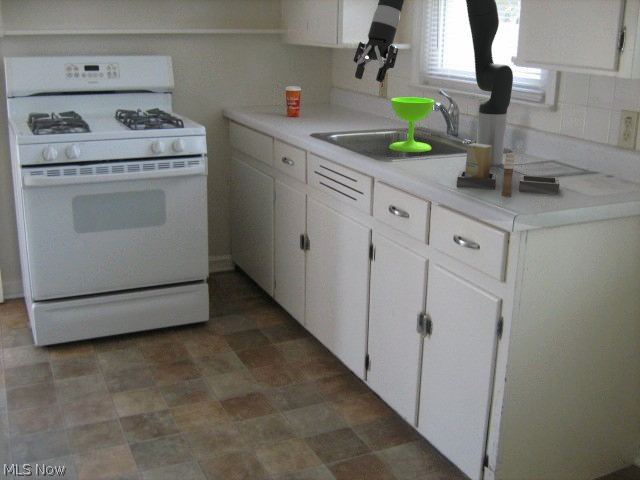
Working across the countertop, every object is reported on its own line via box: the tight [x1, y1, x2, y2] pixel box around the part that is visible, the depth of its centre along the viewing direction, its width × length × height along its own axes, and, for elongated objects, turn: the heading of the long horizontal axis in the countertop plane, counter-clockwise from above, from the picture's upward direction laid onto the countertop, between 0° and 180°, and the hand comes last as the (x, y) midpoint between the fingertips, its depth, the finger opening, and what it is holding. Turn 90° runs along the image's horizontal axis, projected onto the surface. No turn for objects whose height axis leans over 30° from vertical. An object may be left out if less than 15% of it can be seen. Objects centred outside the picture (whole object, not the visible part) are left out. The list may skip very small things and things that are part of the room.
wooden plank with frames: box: [456, 152, 560, 198], centre depth 219 cm, size 24×29×8 cm
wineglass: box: [388, 97, 435, 153], centre depth 277 cm, size 16×16×18 cm
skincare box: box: [464, 142, 492, 178], centre depth 221 cm, size 6×4×12 cm
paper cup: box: [284, 85, 302, 118], centre depth 354 cm, size 8×8×14 cm
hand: (368, 80), depth 213 cm, fingers open, 8 cm apart
